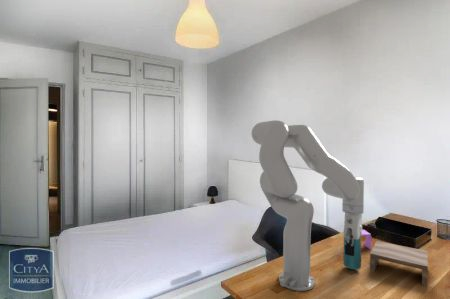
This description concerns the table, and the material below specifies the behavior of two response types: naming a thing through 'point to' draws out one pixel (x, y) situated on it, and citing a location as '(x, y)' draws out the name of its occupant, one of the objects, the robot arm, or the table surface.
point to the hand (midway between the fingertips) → (352, 250)
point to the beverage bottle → (355, 260)
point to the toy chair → (367, 239)
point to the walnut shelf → (400, 257)
